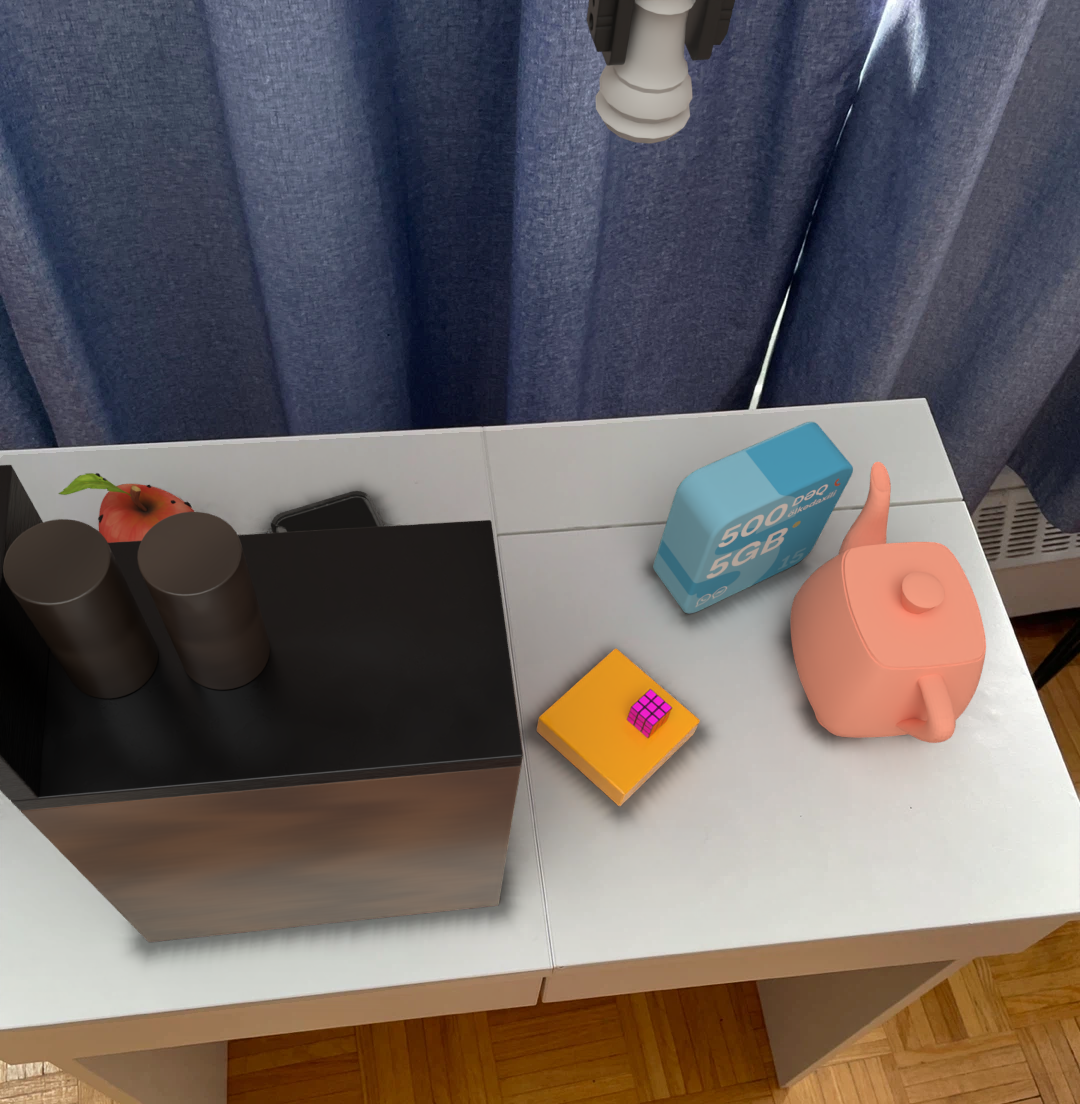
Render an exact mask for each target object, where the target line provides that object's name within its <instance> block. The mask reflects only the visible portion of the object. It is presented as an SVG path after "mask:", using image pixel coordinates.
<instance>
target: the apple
mask: <svg viewBox="0 0 1080 1104" xmlns="http://www.w3.org/2000/svg"><path fill="white" fill-rule="evenodd" d="M88 489H90V490H106V491H107V492H106V493H105V495H104V497H103V498H102V501H101V503H100V507H99V512H98V518H97V520H98V531H99V532H100V533H101V534H102V535H103V536H104V538H105V539H106V541H107V542H108V543H111V542H128V541H142V539H143V537H144V536H145V534H146V533H147V532H148V531H149V530H150V529H151V528H152V527H153V526H154V525H155V524H157V523H158V522H159V521H161V520H163V519H165V518H167V517H169V516H172V515H175V514H179V513H183V512H196V511H195V510H194V509H193V508H192V504H191V503H190V502H188V501H184V500H182V499H181V498H180V497H178V496H177V495H176V494H173V493H172V492H169V491H166V490H165V489H162V488H160V487H157V486H153V485H151V484H141V483H122V484H119V485H116V484H114V483H113V482H111V481H110V480H108V479H106V478H105V477H103V476H102V475H101V474H100V473H98V472H95V473H92V472H90V473H89V472H87V473H84V474H79V475H78V476H76V477H75V478H74V479H73V480H72V481H71V482H70V483H69V484H68V485H67V486H66V487H65V488H64V489H63V490H62V491H59V492H58V493H57V494H58V495H61V496H68V495H71V494H76V493H78V492H81V491H84V490H88Z"/></svg>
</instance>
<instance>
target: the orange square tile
mask: <svg viewBox="0 0 1080 1104" xmlns="http://www.w3.org/2000/svg"><path fill="white" fill-rule="evenodd" d="M700 722H701V720H700V719H699V718H698V717H697V716H696V715H695V714H693V713H692V712H691V711H690V710H689V709H687V707H686V706H685V705H683V704H681V702H679V701H678V700H677V699H676V698H675V697H674V696H672V695H671V693H670V692H668V691H667V690H666V689H664V687H662V686H661V685H660V684H659V683H658V682H657V681H655V680H654V679H653V678H651V677H650V676H649V675H648V674H647V673H646V672H645V671H643V669H641V668H640V667H639V666H638V665H637V664H635V663H634V662H633V661H632V660H631V659H630V658H628V657H627V656H626V655H625V654H624V653H623V652H621V650H619V649H618V648H614V649H613V650H612V651H610V652H609V653H608V654H607V655H606V656H605V657H604V658H603V659H601V660H600V661H599V662H598V663H597V664H596V665H595V666H594V667H592V669H590V670H589V671H588V672H587V673H586V674H584V676H583V677H582V678H581V679H579V680H578V681H577V682H576V683H574V685H573V686H572V687H571V688H570V689H569V690H567V691H566V692H565V693H563V694H562V696H561V697H560V698H558V699H557V700H556V701H555V702H553V704H551V706H550V707H548V708H547V709H546V710H544V712H542V714H541V715H539V716H538V720H537V725H536V733H538V734H539V735H540V736H541V737H542V738H543V739H544V740H545V741H547V742H548V743H549V744H550V745H551V746H552V747H553V748H554V749H555V750H556V751H557V752H558V753H559V754H560V755H562V756H563V757H564V758H565V759H566V760H567V761H568V762H570V764H572V765H573V766H574V767H575V768H576V769H577V770H579V772H580V773H582V775H584V776H585V777H586V778H587V779H588V780H589V781H590V782H591V783H593V784H594V786H596V787H597V788H598V789H599V790H601V792H603V793H604V794H605V795H606V796H607V797H608V798H609V799H610V800H611V801H613V802H614V804H616V805H617V806H618V807H621V806H623V804H624V803H626V802H627V801H628V799H629V798H631V796H633V795H634V794H635V793H636V791H637V790H639V788H641V787H642V786H643V785H644V784H645V783H646V782H647V781H648V780H649V779H650V778H651V777H652V776H653V775H654V774H655V773H656V772H657V771H658V770H659V769H660V768H661V767H662V766H663V765H664V764H665V763H666V762H667V761H668V760H669V759H670V758H671V757H672V756H673V755H674V754H675V753H676V752H677V751H678V750H680V748H681V747H682V746H684V744H686V742H688V740H690V739H691V737H692V736H694V735H695V732H696V731H697V728H698V726H699V725H700Z"/></svg>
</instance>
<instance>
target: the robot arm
mask: <svg viewBox="0 0 1080 1104" xmlns="http://www.w3.org/2000/svg"><path fill="white" fill-rule="evenodd" d="M735 2H736V0H696V1H695V3H694V4H693V6H692V8H691V9H689V12H688V17H687V22H686V31H685V47H686V49H687V52H688V55H689V57H690V59H691V60H692V61H693V62H694V61H707V60H708V61H709V60H710V59H711V57H712V53H713V49H714V46H721V45H722V43H723V41H724V39H725V38H726V36H727V35H728V32H729V28H730V23H731V19H732V15H733V10H734V6H735ZM634 3H635V0H588V3H587V4H588V5H587V6H588V7H587V13H586V24H587V27H588V31H589V34H590V36H591V39H592V43H593V45H594V48H595V50H596V52H597V53H601V54H602V56H603V60H604V62H605V64H606V65H607V66H611V65H623V64H624V63H625V59H626V53H627V47H628V40H629V34H630V28H631V22H632V15H633V9H634ZM606 65H605V66H606Z"/></svg>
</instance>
